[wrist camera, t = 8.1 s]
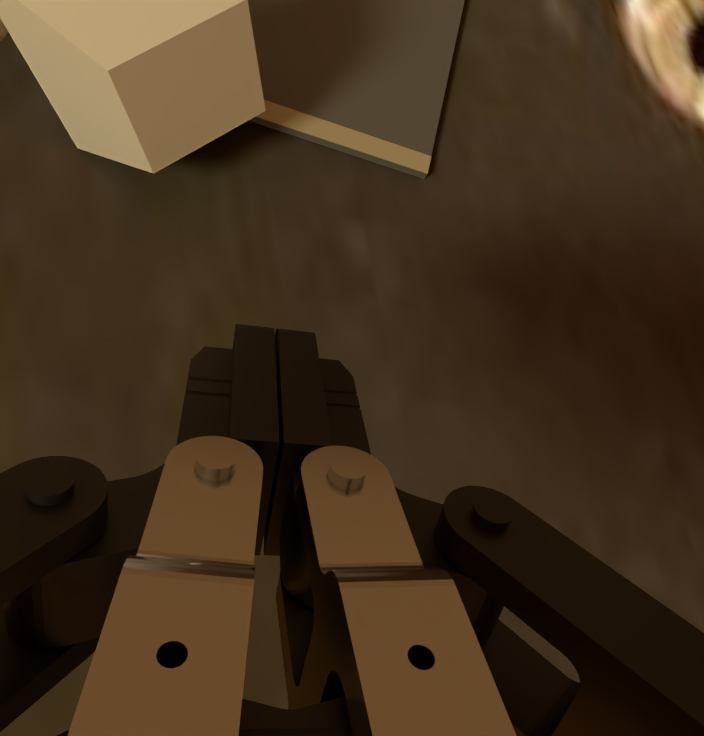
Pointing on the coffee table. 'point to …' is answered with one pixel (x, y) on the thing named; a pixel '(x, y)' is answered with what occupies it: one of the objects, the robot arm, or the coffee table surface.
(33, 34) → the figurine
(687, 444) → the coffee table surface
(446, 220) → the coffee table surface
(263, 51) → the felt mat
